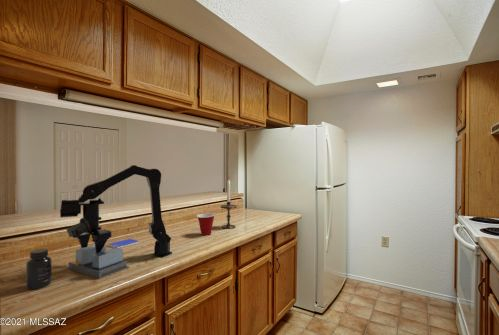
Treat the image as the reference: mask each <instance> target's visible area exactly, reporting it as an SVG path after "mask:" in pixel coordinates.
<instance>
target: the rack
mask: <svg viewBox="0 0 499 335" xmlns="http://www.w3.org/2000/svg"><path fill="white" fill-rule="evenodd" d="M127 262H128V261H127V260H125V261H124V249H123V248H122V247H121V248H117V247H116V248H113V247H112V248H110V249H106V251H103V252H99V253H96V254H92V262H90V263H86V264H83V265H80V263H77V262H76V260H75V261H68V267H67V269H68V270H71V271H74V272H77V273H79V274H83V275H87V276H89V277H93V278H95V279H98V280H100V279H102V278H105V277H108V276H110V275H113V274H117V273H119V272H122V271H124V270H126V269H129V268H130V266H128V264H127Z"/></svg>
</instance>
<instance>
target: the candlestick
mask: <svg viewBox="0 0 499 335" xmlns="http://www.w3.org/2000/svg"><path fill="white" fill-rule="evenodd" d="M227 178H228V180H227V184H226V187H227V188H226V190H227V192H226V193H227V197H226V198H227V200H226V204H222V205H220V207H219V208H221V209H226V210H227V215H226V218H227V219H226V221H227V222H226V224H223V225H221V228H222V229H225V230H232V229H235V228H236V225H235V224H231V223H230V221H231V219H230V218H231V215H230V214H231V213H230V210H232V209H236V208H238V205H236V204H231V181H230V175H228V176H227Z"/></svg>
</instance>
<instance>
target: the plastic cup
mask: <svg viewBox="0 0 499 335" xmlns="http://www.w3.org/2000/svg"><path fill="white" fill-rule="evenodd" d="M215 216H216V214H215V213H214V212H213V213H212V212H207V213H201V214H197V215H196V217H197V220H198V223H199V230H200V234H201V236H211V235H212V231H213V227H214V226H213V225H214V224H213V223H214V218H215Z"/></svg>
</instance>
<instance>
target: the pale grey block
mask: <svg viewBox="0 0 499 335" xmlns="http://www.w3.org/2000/svg"><path fill="white" fill-rule="evenodd" d="M106 246H107V244H105V245H104V247H103V249H102V251H101V252H103V251H106V250H107V247H106ZM92 254H96V250H95V244H93V245H90V246H87V247H85V248H78V249H75V261H76V262H77V263H80V265H83V264H86V263H90V262H92Z"/></svg>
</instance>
